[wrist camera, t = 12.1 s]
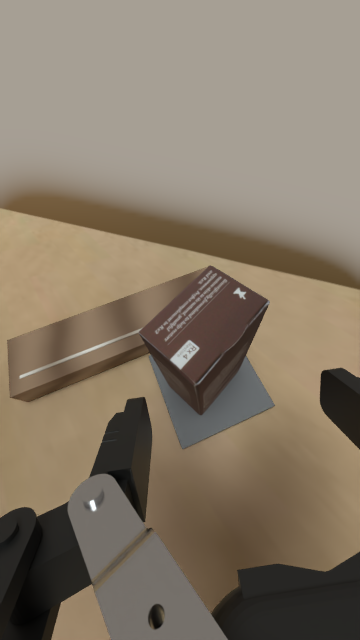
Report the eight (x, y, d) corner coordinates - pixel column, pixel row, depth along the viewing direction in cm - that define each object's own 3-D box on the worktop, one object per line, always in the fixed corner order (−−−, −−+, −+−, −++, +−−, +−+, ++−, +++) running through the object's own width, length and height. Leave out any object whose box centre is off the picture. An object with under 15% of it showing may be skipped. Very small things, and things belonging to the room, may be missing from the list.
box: (204, 341, 24) (210, 260, 13) (240, 369, 22) (279, 303, 12) (163, 384, 22) (133, 330, 12) (199, 419, 21) (202, 393, 10)
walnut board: (28, 401, 23) (9, 397, 20) (23, 349, 25) (6, 339, 23) (228, 320, 26) (231, 308, 23) (205, 281, 28) (206, 266, 26)
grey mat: (182, 449, 20) (182, 449, 20) (149, 357, 24) (148, 355, 24) (273, 406, 21) (275, 405, 21) (226, 325, 25) (227, 323, 25)
